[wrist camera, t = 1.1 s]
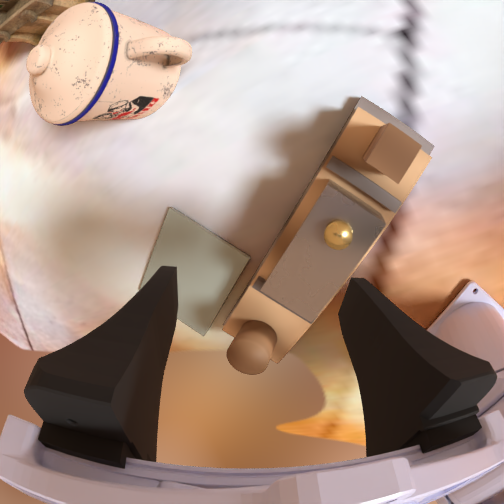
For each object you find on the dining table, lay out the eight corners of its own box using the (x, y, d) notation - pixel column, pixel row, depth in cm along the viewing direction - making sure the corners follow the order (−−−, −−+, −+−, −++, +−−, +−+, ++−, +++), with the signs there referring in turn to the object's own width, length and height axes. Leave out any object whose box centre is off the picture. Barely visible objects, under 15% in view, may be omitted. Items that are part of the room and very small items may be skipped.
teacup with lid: (102, 125, 25) (-1, 138, 14) (108, 39, 21) (10, 22, 11) (216, 117, 22) (111, 111, 11) (222, 13, 18) (133, -50, 8)
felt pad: (250, 257, 25) (249, 258, 25) (205, 334, 30) (203, 336, 29) (171, 206, 26) (169, 207, 25) (141, 289, 30) (139, 291, 30)
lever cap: (329, 179, 19) (326, 186, 16) (381, 213, 18) (387, 227, 15) (269, 273, 22) (257, 294, 19) (316, 303, 22) (310, 327, 19)
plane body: (361, 97, 18) (366, 80, 12) (431, 145, 18) (463, 149, 12) (225, 320, 28) (195, 363, 22) (280, 354, 28) (261, 403, 22)
